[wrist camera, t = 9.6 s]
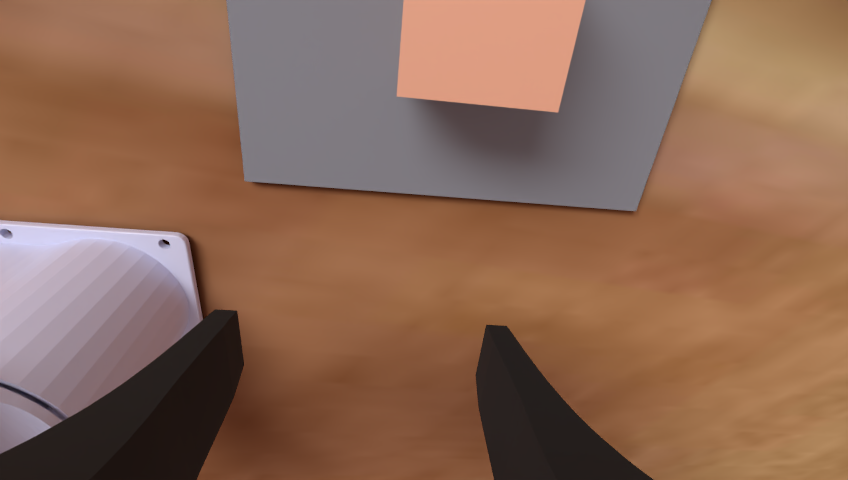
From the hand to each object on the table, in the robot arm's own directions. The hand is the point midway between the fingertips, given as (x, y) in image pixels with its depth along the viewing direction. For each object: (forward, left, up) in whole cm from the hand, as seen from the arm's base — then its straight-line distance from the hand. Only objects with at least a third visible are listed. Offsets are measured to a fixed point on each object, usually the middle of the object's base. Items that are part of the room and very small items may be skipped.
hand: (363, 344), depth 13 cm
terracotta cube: (+3, +9, -9) cm, 13 cm away
